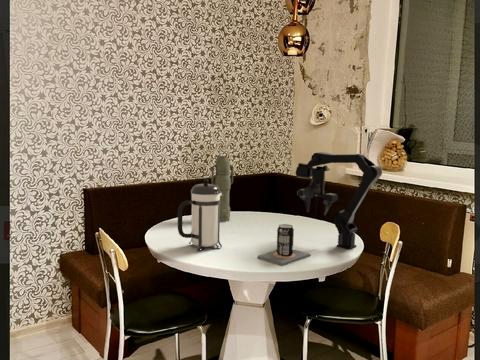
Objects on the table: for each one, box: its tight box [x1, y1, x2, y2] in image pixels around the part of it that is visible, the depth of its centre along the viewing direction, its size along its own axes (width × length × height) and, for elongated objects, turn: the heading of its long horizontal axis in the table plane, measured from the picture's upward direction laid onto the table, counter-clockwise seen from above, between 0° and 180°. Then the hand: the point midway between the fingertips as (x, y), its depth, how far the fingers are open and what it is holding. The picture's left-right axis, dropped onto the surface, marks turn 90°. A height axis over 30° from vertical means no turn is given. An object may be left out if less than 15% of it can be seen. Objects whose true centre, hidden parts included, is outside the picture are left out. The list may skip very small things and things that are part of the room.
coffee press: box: [177, 178, 223, 251], centre depth 197 cm, size 17×16×30 cm
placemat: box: [257, 248, 311, 267], centre depth 187 cm, size 13×18×1 cm
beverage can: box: [276, 223, 295, 256], centre depth 187 cm, size 7×7×12 cm
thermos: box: [211, 155, 234, 222], centre depth 249 cm, size 9×12×35 cm
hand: (316, 213), depth 212 cm, fingers open, 9 cm apart
